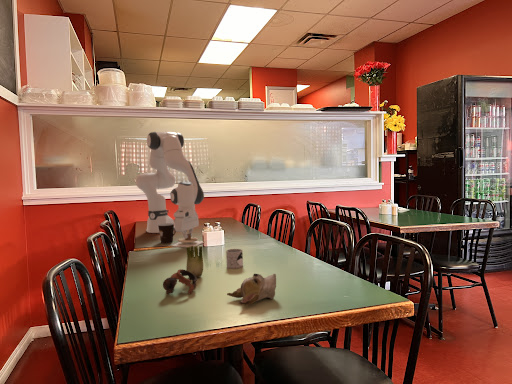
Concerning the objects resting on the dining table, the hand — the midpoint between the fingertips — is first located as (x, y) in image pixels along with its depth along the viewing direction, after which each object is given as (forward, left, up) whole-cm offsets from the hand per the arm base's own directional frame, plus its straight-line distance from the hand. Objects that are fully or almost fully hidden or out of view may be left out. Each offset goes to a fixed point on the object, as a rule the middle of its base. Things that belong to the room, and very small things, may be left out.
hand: (188, 237), depth 198 cm
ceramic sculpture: (+70, +62, -4) cm, 94 cm away
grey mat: (0, 0, -4) cm, 4 cm away
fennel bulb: (+53, +32, -4) cm, 62 cm away
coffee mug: (-3, -14, -4) cm, 15 cm away
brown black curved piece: (+69, +35, -4) cm, 78 cm away
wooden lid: (0, 0, -2) cm, 2 cm away
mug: (+34, +41, -4) cm, 53 cm away
